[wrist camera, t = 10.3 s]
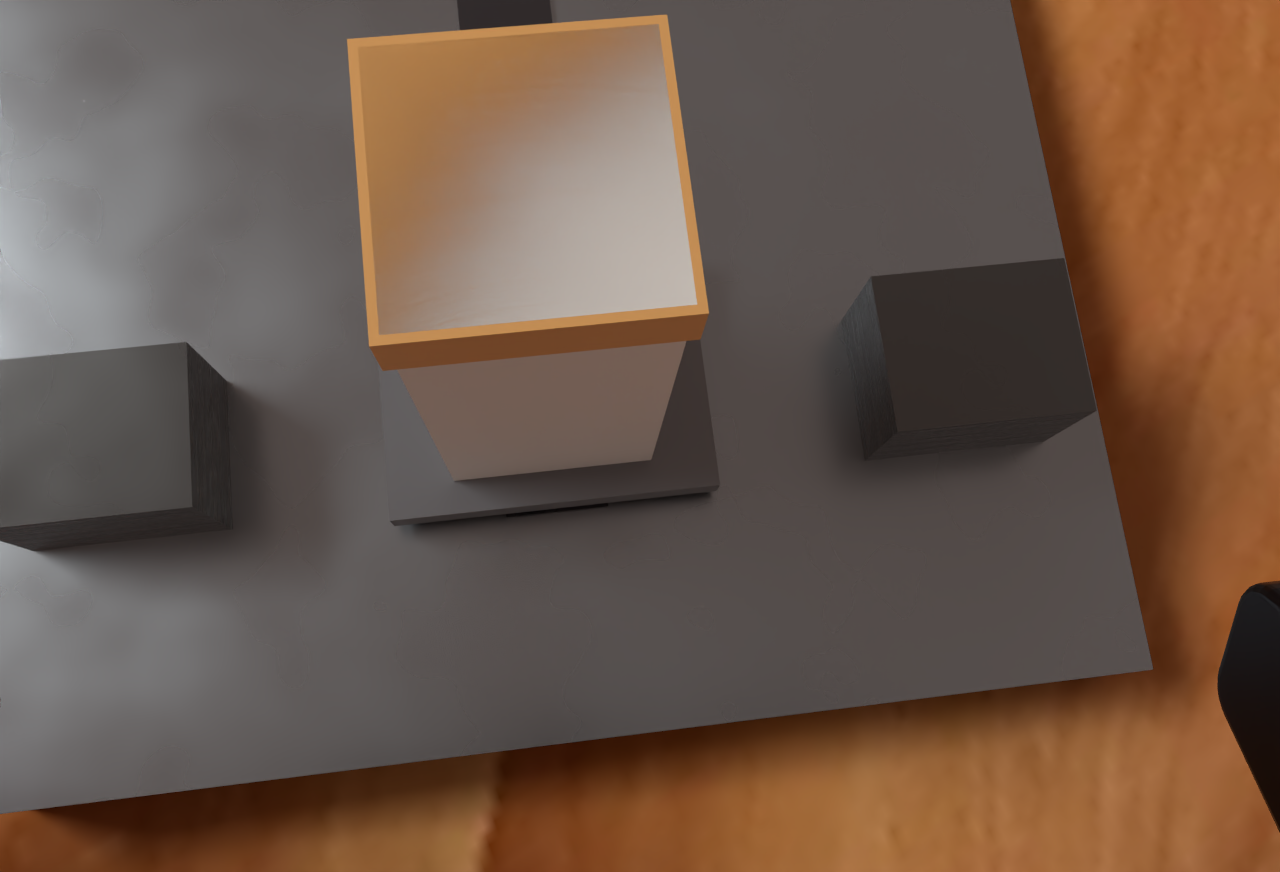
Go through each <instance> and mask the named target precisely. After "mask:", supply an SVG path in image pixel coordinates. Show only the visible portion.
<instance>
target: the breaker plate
mask: <svg viewBox="0 0 1280 872" xmlns="http://www.w3.org/2000/svg"><path fill="white" fill-rule="evenodd" d="M654 15H667V17H668V24H669V31H670V38H671V46H672V53H673V60H674V67H675V74H676V81H677V88H678V95H679V103H680V110H681V117H682V124H683V131H684V138H685V145H686V152H687V160H688V167H689V174H690V181H691V188H692V195H693V202H694V209H695V217H696V224H697V231H698V238H699V245H700V252H701V259H702V266H703V274H704V281H705V288H706V295H707V302H708V309H709V315H708V318H707V321H706V324H705V327H704V330H703V333H702V336H701V339H700V342H701V349H702V356H703V363H704V371H705V378H706V385H707V392H708V400H709V407H710V414H711V421H712V429H713V436H714V443H715V451H716V458H717V465H718V472H719V480H720V486H719V488H718V489H717V491H712V492H702V493H693V494H684V495H675V496H666V497H657V498H648V499H638V500H629V501H620V502H611V503H602V504H593V505H584V506H574V507H565V508H556V509H547V510H538V511H529V512H519V513H510V514H501V515H492V516H483V517H474V518H465V519H455V520H446V521H437V522H428V523H419V524H410V525H401V526H394V525H393V524H392V523H391V522H390V520H389V506H388V493H387V479H386V465H385V452H384V438H383V424H382V411H381V397H380V384H379V370H378V362H377V360H376V358H375V356H374V354H373V353H372V351H371V349H370V347H369V338H368V325H367V311H366V297H365V283H364V269H363V255H362V241H361V227H360V213H359V199H358V185H357V171H356V157H355V143H354V129H353V115H352V101H351V87H350V74H349V60H348V46H347V39H354V38H367V37H380V36H393V35H406V34H419V33H432V32H445V31H458V30H471V29H484V28H497V27H510V26H523V25H536V24H549V23H562V22H575V21H589V20H602V19H615V18H628V17H641V16H654ZM1146 670H1153V666H1152V661H1151V656H1150V652H1149V647H1148V642H1147V638H1146V633H1145V628H1144V624H1143V619H1142V614H1141V610H1140V605H1139V600H1138V596H1137V591H1136V586H1135V582H1134V577H1133V572H1132V567H1131V563H1130V558H1129V553H1128V549H1127V544H1126V539H1125V535H1124V530H1123V525H1122V521H1121V516H1120V511H1119V507H1118V502H1117V497H1116V493H1115V488H1114V483H1113V479H1112V474H1111V469H1110V465H1109V460H1108V455H1107V451H1106V446H1105V441H1104V437H1103V432H1102V427H1101V423H1100V418H1099V413H1098V409H1097V404H1096V399H1095V395H1094V390H1093V385H1092V381H1091V376H1090V371H1089V367H1088V362H1087V357H1086V353H1085V348H1084V343H1083V339H1082V334H1081V329H1080V325H1079V320H1078V315H1077V311H1076V306H1075V301H1074V297H1073V292H1072V287H1071V283H1070V278H1069V273H1068V269H1067V264H1066V259H1065V254H1064V250H1063V245H1062V240H1061V236H1060V231H1059V226H1058V222H1057V217H1056V212H1055V208H1054V203H1053V198H1052V194H1051V189H1050V184H1049V180H1048V175H1047V170H1046V166H1045V161H1044V156H1043V152H1042V147H1041V142H1040V138H1039V133H1038V128H1037V124H1036V119H1035V114H1034V110H1033V105H1032V100H1031V96H1030V91H1029V86H1028V82H1027V77H1026V72H1025V68H1024V63H1023V58H1022V54H1021V49H1020V44H1019V40H1018V35H1017V30H1016V26H1015V21H1014V16H1013V12H1012V7H1011V2H1010V0H0V814H3V813H11V812H19V811H27V810H35V809H43V808H51V807H59V806H67V805H75V804H83V803H91V802H99V801H107V800H115V799H123V798H131V797H139V796H147V795H155V794H163V793H171V792H179V791H187V790H195V789H203V788H211V787H219V786H227V785H235V784H243V783H251V782H259V781H267V780H275V779H283V778H291V777H299V776H307V775H315V774H323V773H331V772H339V771H347V770H355V769H363V768H371V767H379V766H387V765H395V764H403V763H411V762H419V761H427V760H435V759H443V758H451V757H459V756H467V755H475V754H483V753H491V752H499V751H507V750H515V749H523V748H531V747H539V746H547V745H555V744H563V743H571V742H579V741H587V740H595V739H603V738H610V737H618V736H626V735H634V734H642V733H650V732H658V731H666V730H674V729H682V728H690V727H698V726H706V725H714V724H722V723H730V722H738V721H746V720H754V719H762V718H770V717H778V716H786V715H794V714H802V713H810V712H818V711H826V710H834V709H842V708H850V707H858V706H866V705H874V704H882V703H890V702H898V701H906V700H914V699H922V698H930V697H938V696H946V695H954V694H962V693H970V692H978V691H986V690H994V689H1002V688H1010V687H1018V686H1026V685H1034V684H1042V683H1050V682H1058V681H1066V680H1074V679H1082V678H1090V677H1098V676H1106V675H1114V674H1122V673H1130V672H1138V671H1146Z"/></svg>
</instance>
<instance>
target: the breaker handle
mask: <svg viewBox="0 0 1280 872" xmlns="http://www.w3.org/2000/svg"><path fill="white" fill-rule="evenodd" d="M347 46H348V60H349V74H350V87H351V101H352V115H353V129H354V143H355V157H356V171H357V185H358V199H359V213H360V227H361V241H362V255H363V269H364V283H365V297H366V311H367V325H368V338H369V347H370V349H371V351H372V353H373V354H374V356H375V358H376V360H377V362H378V370H379V384H380V397H381V411H382V424H383V438H384V452H385V465H386V479H387V493H388V506H389V520H390V522H391V523H392V524H393V525H394V526H401V525H410V524H419V523H428V522H437V521H446V520H455V519H465V518H474V517H483V516H492V515H501V514H510V513H519V512H529V511H538V510H547V509H556V508H565V507H574V506H584V505H593V504H602V503H611V502H620V501H629V500H638V499H648V498H657V497H666V496H675V495H684V494H693V493H702V492H712V491H717V489H718V488H719V486H720V480H719V472H718V465H717V458H716V451H715V443H714V436H713V429H712V421H711V414H710V407H709V400H708V392H707V385H706V378H705V371H704V363H703V356H702V349H701V342H700V339H701V336H702V333H703V330H704V327H705V324H706V321H707V318H708V315H709V309H708V302H707V295H706V288H705V281H704V274H703V266H702V259H701V252H700V245H699V238H698V231H697V224H696V217H695V209H694V202H693V195H692V188H691V181H690V174H689V167H688V160H687V152H686V145H685V138H684V131H683V124H682V117H681V110H680V103H679V95H678V88H677V81H676V74H675V67H674V60H673V53H672V46H671V38H670V31H669V24H668V17H667V15H654V16H641V17H628V18H615V19H602V20H589V21H575V22H562V23H549V24H536V25H523V26H510V27H497V28H484V29H471V30H458V31H445V32H432V33H419V34H406V35H393V36H380V37H367V38H354V39H347Z"/></svg>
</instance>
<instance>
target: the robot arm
mask: <svg viewBox="0 0 1280 872" xmlns="http://www.w3.org/2000/svg"><path fill="white" fill-rule="evenodd" d="M1218 695H1219V700H1220V704H1221V707H1222V710H1223V712H1224V715H1225V717H1226V719H1227V721H1228V724H1229V726H1230V728H1231V730H1232V732H1233V734H1234V736H1235V738H1236V741H1237V743H1238V745H1239V747H1240V749H1241V751H1242V753H1243V755H1244V758H1245V760H1246V762H1247V764H1248V766H1249V768H1250V770H1251V772H1252V775H1253V777H1254V779H1255V781H1256V783H1257V785H1258V787H1259V789H1260V792H1261V794H1262V796H1263V798H1264V800H1265V802H1266V804H1267V806H1268V809H1269V811H1270V813H1271V815H1272V817H1273V819H1274V821H1275V823H1276V826H1277V828H1278V830H1279V832H1280V581H1273V582H1264V583H1258V584H1255V585H1253V586H1251V587H1249V588H1248V589H1247V590H1246V592H1245V593H1244V594H1243V595H1242V596H1241V599H1240V601H1239V604H1238V607H1237V611H1236V614H1235V617H1234V621H1233V624H1232V628H1231V631H1230V634H1229V638H1228V641H1227V645H1226V648H1225V651H1224V655H1223V658H1222V662H1221V665H1220V668H1219V673H1218Z"/></svg>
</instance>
